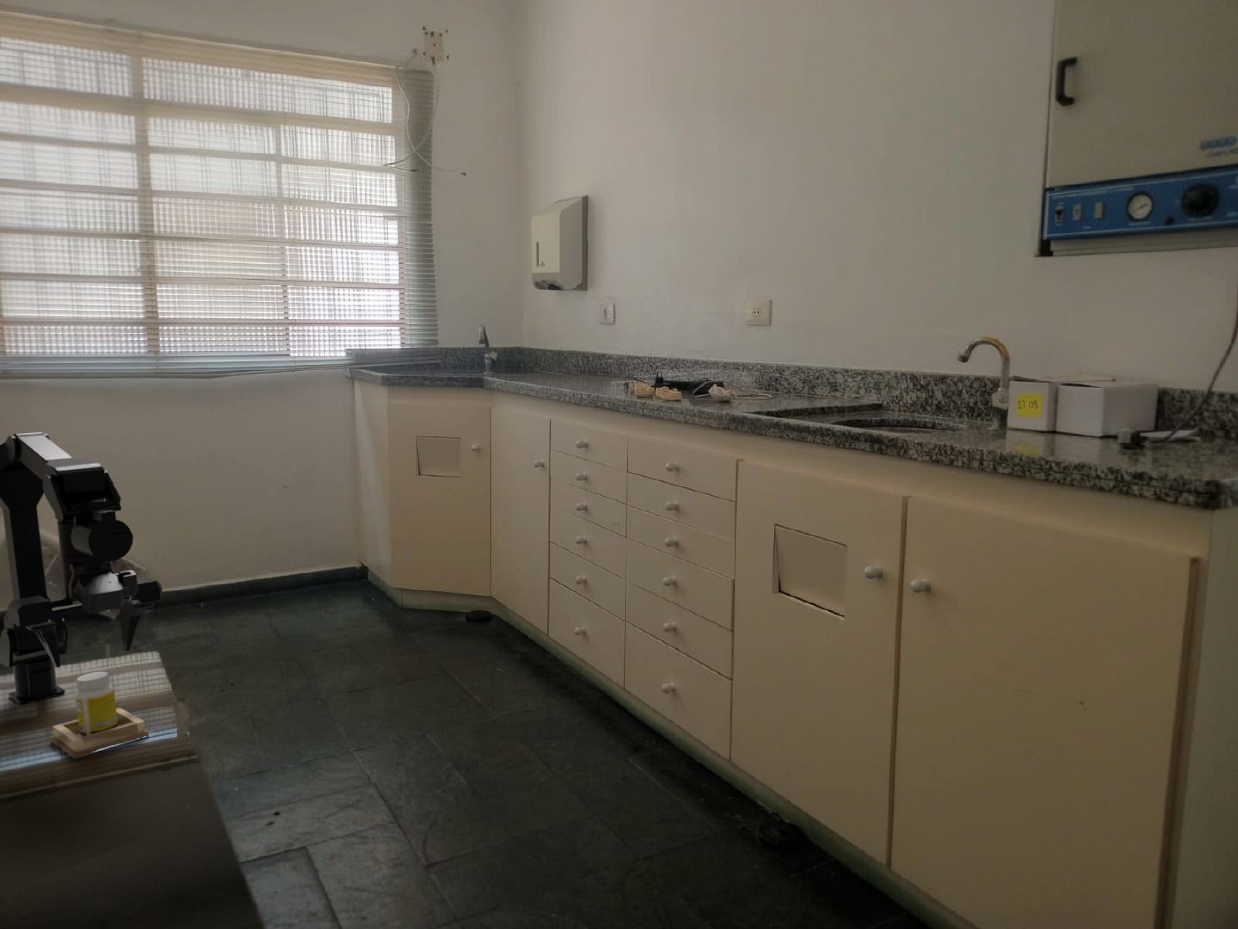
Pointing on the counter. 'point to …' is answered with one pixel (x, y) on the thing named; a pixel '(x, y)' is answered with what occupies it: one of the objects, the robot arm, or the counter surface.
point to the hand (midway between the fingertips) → (93, 658)
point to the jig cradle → (97, 735)
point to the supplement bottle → (95, 703)
